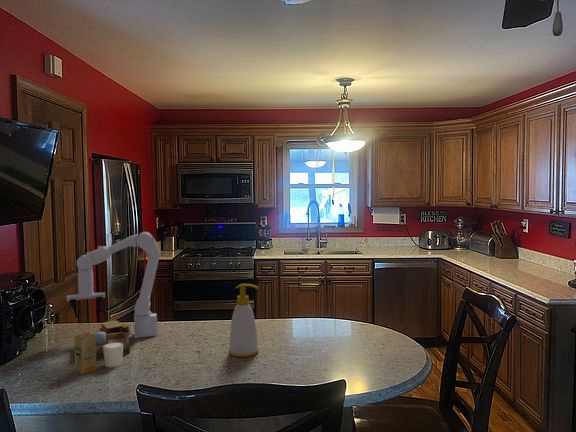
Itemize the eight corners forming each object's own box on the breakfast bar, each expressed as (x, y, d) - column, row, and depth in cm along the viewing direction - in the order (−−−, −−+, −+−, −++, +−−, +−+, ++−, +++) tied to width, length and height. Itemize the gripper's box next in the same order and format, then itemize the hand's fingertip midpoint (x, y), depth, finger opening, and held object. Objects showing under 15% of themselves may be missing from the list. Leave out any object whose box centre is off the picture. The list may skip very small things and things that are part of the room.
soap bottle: (254, 359, 166) (253, 287, 165) (224, 357, 168) (223, 286, 167) (262, 348, 177) (261, 281, 176) (234, 346, 179) (233, 280, 178)
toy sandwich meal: (103, 341, 188) (103, 330, 188) (96, 333, 199) (96, 322, 199) (134, 336, 195) (134, 325, 195) (125, 328, 206) (125, 318, 206)
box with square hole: (127, 341, 188) (126, 331, 187) (129, 353, 173) (129, 343, 173) (79, 347, 181) (78, 337, 181) (77, 360, 166) (77, 350, 166)
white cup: (98, 366, 161) (98, 346, 161) (114, 359, 167) (114, 340, 167) (112, 369, 158) (112, 349, 157) (128, 362, 164) (127, 343, 163)
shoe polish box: (89, 366, 161) (88, 332, 160) (96, 369, 157) (95, 335, 157) (75, 370, 157) (74, 336, 156) (82, 374, 154) (81, 339, 153)
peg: (105, 345, 182) (105, 331, 182) (106, 349, 178) (106, 334, 178) (94, 347, 180) (94, 332, 180) (95, 350, 177) (95, 335, 176)
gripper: (65, 287, 183) (67, 320, 183) (104, 284, 188) (105, 316, 189) (67, 284, 189) (68, 316, 190) (104, 281, 195) (105, 312, 195)
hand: (87, 316), depth 190 cm, fingers open, 7 cm apart
